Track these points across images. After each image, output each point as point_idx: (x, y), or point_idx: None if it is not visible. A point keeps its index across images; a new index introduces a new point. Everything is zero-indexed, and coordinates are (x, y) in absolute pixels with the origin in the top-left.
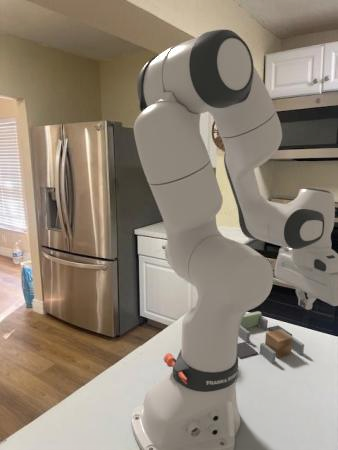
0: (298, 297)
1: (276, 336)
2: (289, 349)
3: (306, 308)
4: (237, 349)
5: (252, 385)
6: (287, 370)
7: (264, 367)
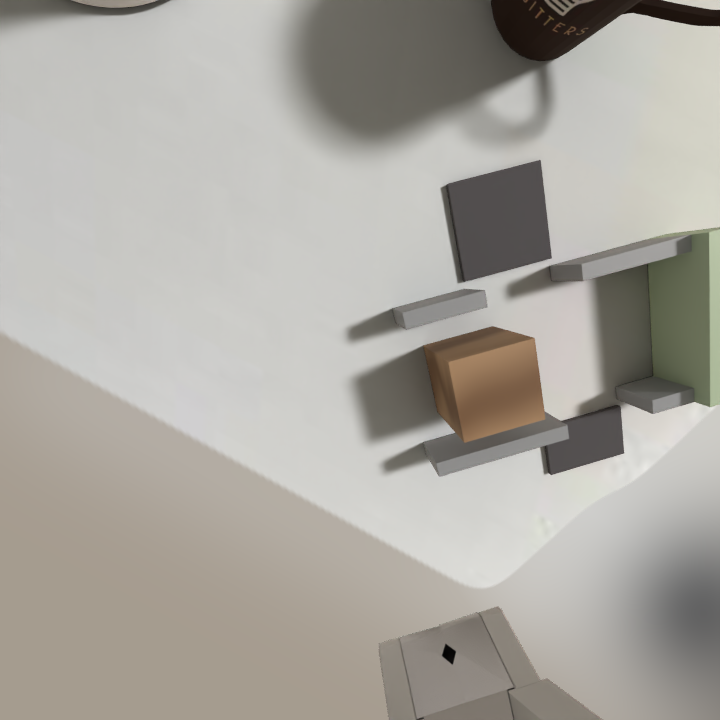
0: (556, 699)
1: (490, 373)
2: (442, 410)
3: (385, 647)
4: (506, 196)
5: (269, 159)
6: (342, 349)
7: (373, 265)
